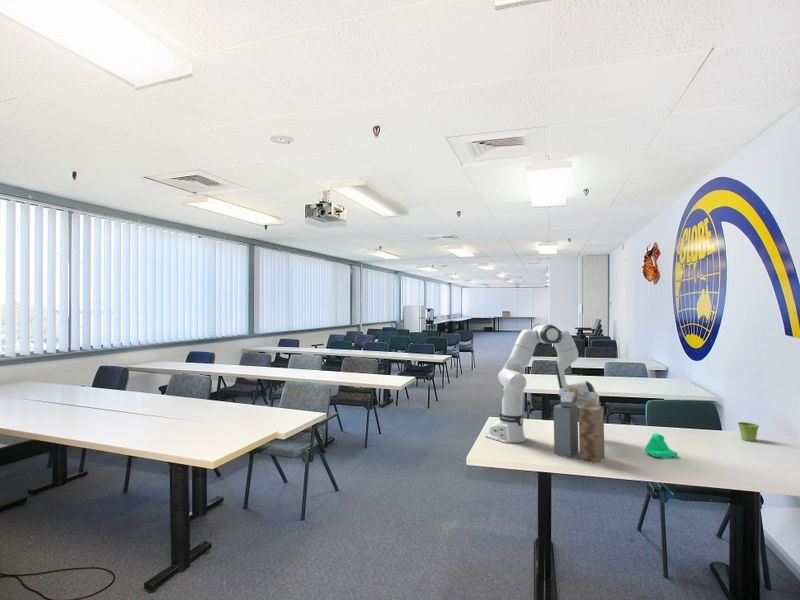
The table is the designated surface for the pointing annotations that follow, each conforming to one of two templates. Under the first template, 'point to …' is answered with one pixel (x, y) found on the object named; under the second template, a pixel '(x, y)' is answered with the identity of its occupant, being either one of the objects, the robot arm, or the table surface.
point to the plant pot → (748, 431)
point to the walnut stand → (591, 433)
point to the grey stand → (565, 430)
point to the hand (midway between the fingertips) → (573, 389)
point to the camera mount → (659, 447)
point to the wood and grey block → (569, 398)
